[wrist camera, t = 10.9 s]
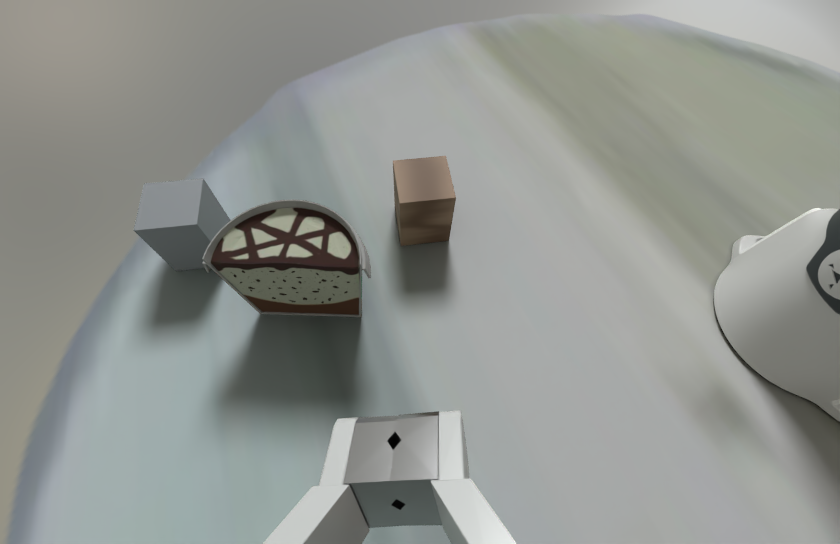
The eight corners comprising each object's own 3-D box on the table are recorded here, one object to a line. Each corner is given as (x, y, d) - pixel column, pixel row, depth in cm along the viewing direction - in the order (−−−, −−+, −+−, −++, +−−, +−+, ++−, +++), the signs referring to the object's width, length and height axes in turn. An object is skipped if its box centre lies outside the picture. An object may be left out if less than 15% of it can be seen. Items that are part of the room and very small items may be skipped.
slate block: (232, 224, 42) (203, 178, 36) (229, 265, 40) (196, 224, 34) (182, 229, 42) (144, 183, 36) (176, 271, 40) (133, 230, 33)
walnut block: (440, 202, 44) (445, 155, 38) (448, 240, 42) (455, 197, 36) (395, 207, 44) (393, 160, 38) (400, 246, 42) (399, 203, 35)
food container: (382, 260, 41) (375, 196, 32) (377, 317, 38) (368, 264, 29) (258, 256, 41) (217, 190, 32) (244, 313, 38) (194, 258, 29)
